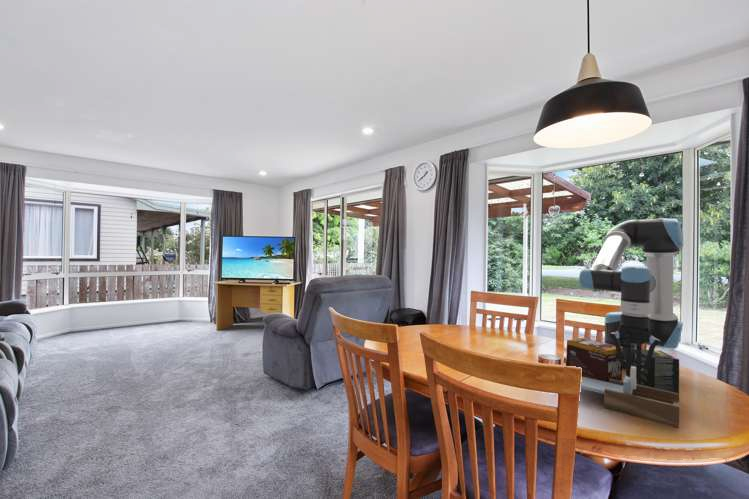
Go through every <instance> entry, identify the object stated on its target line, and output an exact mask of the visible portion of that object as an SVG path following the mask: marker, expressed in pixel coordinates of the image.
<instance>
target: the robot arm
mask: <svg viewBox="0 0 749 499" xmlns="http://www.w3.org/2000/svg"><path fill="white" fill-rule="evenodd" d="M683 247H684V235H683V229H682V225H681V222H680V221H679V219H676V218H665V217H663V218H655V219H654V218H651V219H650V218H649V219H648V218H647V219H630V220H626V221H623V222H621V223H619V224H617V225H615V226H614V227H612V228H611V229H610V230H608V232H607V233H606V235H605V236H604V238H603V246H602V247H601V249H600V251H599V253H598V255H597V257H596V259H595V260H594V263H593V265H592V267H591V268H584V269H581V271H579V272H580V273H579V277H578V278H579V280H578V282H579V285H580V288H582V289H584V290H591V291H606V292H616V293H620V310H619V311H611V312H610V311H609V312H607V313H606V314H605V316H604V317H605V318H604V323H603V324H604V343H608V344H612V345H615V347H616V351H617V355H618V359H619V362H620V364H622V369H625V375H626V376H627V377H630V388H631V389H635V390H636V378H637V379H640V378H641V369H643V368H646V369H647V368H648V366H649V363H650V361H651V358H652V355H653V352H654V350H655V349H656V347H657V348H662V349H670V350H675V349H677V348H679V345H680V341H681V340H680V339H681V336H682V332H683V325H684V323H683V322H682V321H680V320H679V317H678V315H676V314H675V313H674V256H675V255H676V254H678V253H679V249H682V248H683ZM629 248H641V252H642V253H643V255H645V257H646V266H623V267H622V268H621V270H617V268H618V266H619V264H620V262H621V259H622V258H623V255H624V253H625V251H627V250H628V249H629ZM643 345H646V346H649V347H648V349H647V350H648V353H647V356H646V359H645V362H644V363H642V364H641V353H642V350H643V349H642V348H643V347H642V346H643ZM621 347H623V353H622V349H621ZM633 349H636V367H634V366H633Z"/></svg>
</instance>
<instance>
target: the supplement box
mask: <svg viewBox="0 0 749 499" xmlns="http://www.w3.org/2000/svg"><path fill="white" fill-rule="evenodd" d="M621 349H622V353H623V347H621ZM565 358H566V359H565V360H566V362H565V367H566V366H576V367H581V368H582V377H586V378H591V379H595V380H600V381H604V382H609V379H615V380H620V381H623V368H622V364H620V362H619V359H618V355H617V351H616V347H615V345H612V344H608V343H605V341H598V340H595V339H591V338H586V337H578V338H571V339H567V340H566V357H565Z"/></svg>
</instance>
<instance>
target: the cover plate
mask: <svg viewBox="0 0 749 499" xmlns="http://www.w3.org/2000/svg"><path fill="white" fill-rule="evenodd" d="M622 381H623V385H618V384H613V383H609V382H604V381H600V380H595V379H591V378H586V377H582V382H581V388H580V389H582V390H587V391H590V392H595V393H599V394H603V395H604V393H605V388H606V389H610V390H614V391H618V392H623V393H627V394H631V395H632V393H633V389H631V388H630V377H627V376H626V374H625V375H624V379H623V380H622Z"/></svg>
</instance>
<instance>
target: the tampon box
mask: <svg viewBox="0 0 749 499" xmlns="http://www.w3.org/2000/svg"><path fill="white" fill-rule="evenodd" d="M648 350H649V349H642V353H641V364H642V363H644V362H645V359H646V356H647V353H648ZM633 366H634V367H636V349H633ZM636 384H638V385H643V386H647V387H652V388H656V389H661V390H666V391H670V392H675V393H678V403H679V402H680V358H677V357H674V356H673V355H670V354H669V353H666V352H664V351H662V350H655V349H654V352H653V355H652V358H651V361H650V363H649V366H648V368H647V369H646V368H643V369H641V378H640V379H637V378H636Z"/></svg>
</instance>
